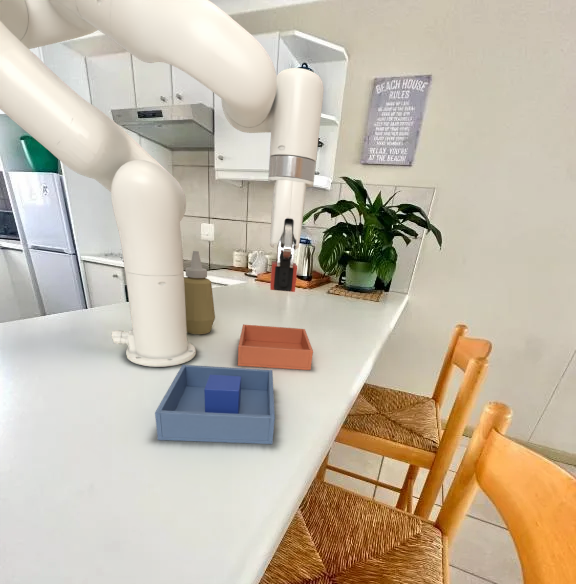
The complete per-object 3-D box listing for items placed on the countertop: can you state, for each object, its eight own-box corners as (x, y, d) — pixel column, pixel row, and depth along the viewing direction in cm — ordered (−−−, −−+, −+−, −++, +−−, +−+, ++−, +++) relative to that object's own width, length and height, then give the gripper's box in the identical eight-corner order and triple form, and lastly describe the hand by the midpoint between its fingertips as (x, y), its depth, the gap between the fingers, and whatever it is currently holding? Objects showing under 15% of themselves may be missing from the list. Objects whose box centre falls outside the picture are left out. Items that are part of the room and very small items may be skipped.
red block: (270, 289, 59) (272, 263, 57) (270, 285, 63) (272, 261, 61) (294, 292, 59) (297, 266, 57) (293, 287, 63) (295, 263, 61)
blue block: (204, 417, 44) (204, 389, 42) (210, 401, 48) (209, 374, 46) (238, 419, 44) (238, 390, 42) (240, 403, 48) (241, 376, 46)
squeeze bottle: (221, 330, 80) (221, 252, 72) (203, 339, 73) (201, 254, 65) (193, 324, 82) (190, 248, 74) (173, 332, 75) (167, 249, 67)
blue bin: (157, 440, 40) (154, 412, 38) (183, 387, 52) (182, 364, 50) (272, 444, 41) (274, 417, 39) (270, 391, 54) (272, 369, 52)
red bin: (237, 365, 62) (238, 346, 60) (242, 341, 74) (242, 324, 73) (310, 370, 63) (313, 351, 61) (303, 345, 76) (305, 328, 74)
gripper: (268, 177, 60) (262, 278, 68) (268, 162, 45) (261, 295, 53) (308, 182, 61) (298, 282, 69) (321, 169, 45) (306, 299, 54)
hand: (282, 286), depth 61 cm, fingers closed on red block, 4 cm apart
